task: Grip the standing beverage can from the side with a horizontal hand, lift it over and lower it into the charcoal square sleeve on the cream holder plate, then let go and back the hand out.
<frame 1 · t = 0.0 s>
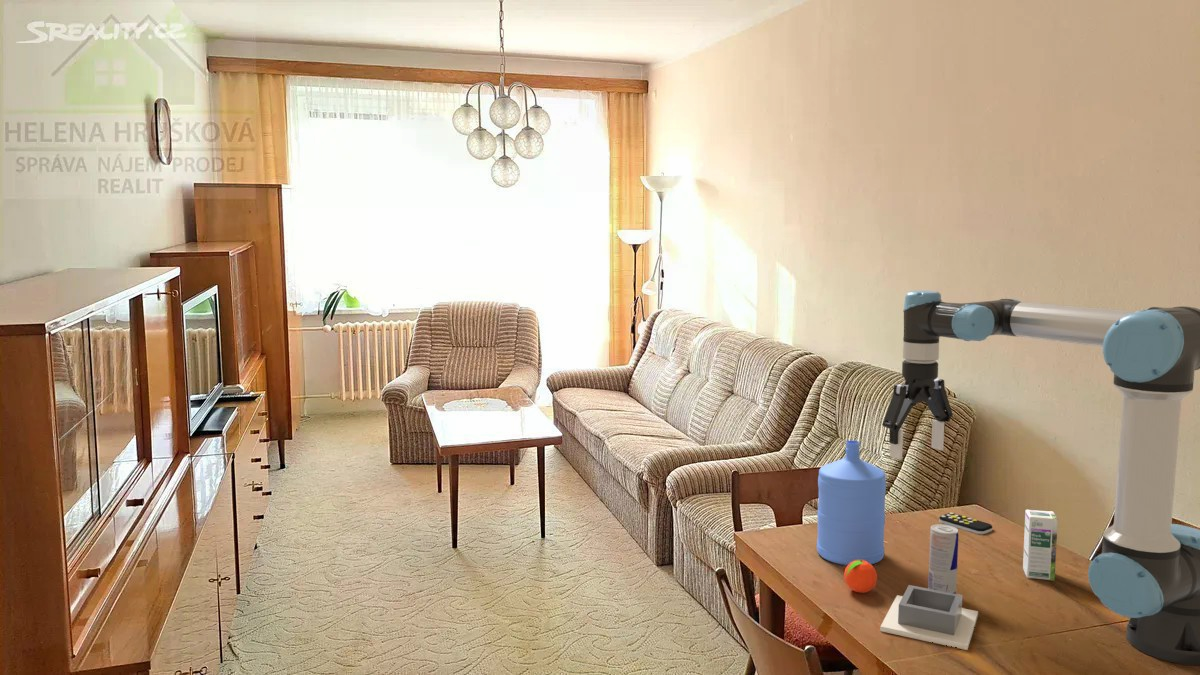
hand: (917, 453, 194), 28 cm above the table, tool pointing down, fingers open, 13 cm apart
water jug: (849, 555, 209), on the table
beverage can: (941, 595, 186), on the table
syrup box: (1038, 575, 195), on the table
can holder: (929, 623, 173), on the table
clementine: (858, 592, 188), on the table
remote control: (965, 527, 227), on the table
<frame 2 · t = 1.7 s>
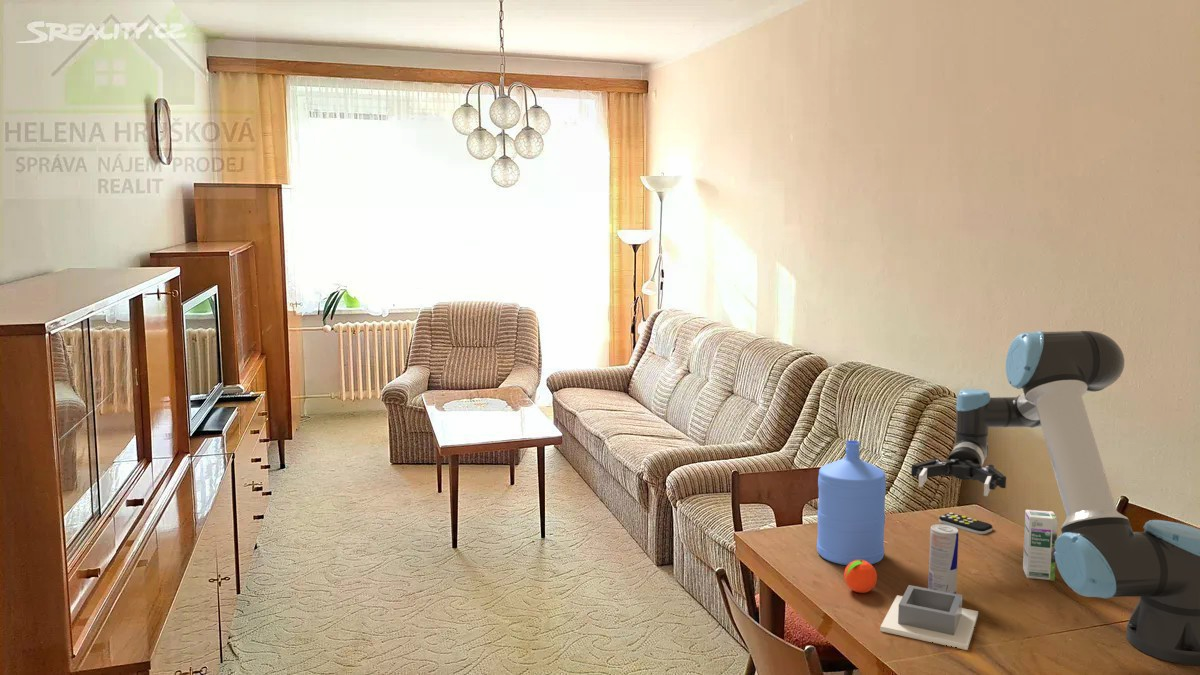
hand: (952, 485, 191), 22 cm above the table, tool horizontal, fingers open, 13 cm apart
nothing on the table moved.
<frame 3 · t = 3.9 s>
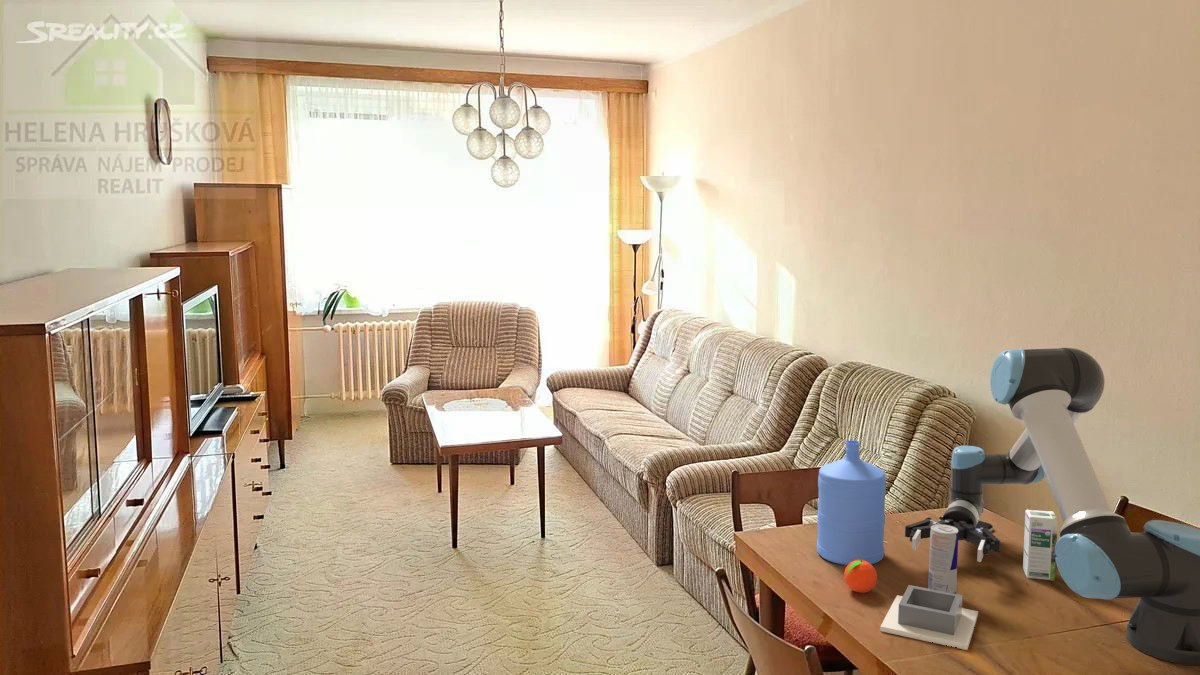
hand: (945, 550, 190), 8 cm above the table, tool horizontal, fingers open, 13 cm apart
nothing on the table moved.
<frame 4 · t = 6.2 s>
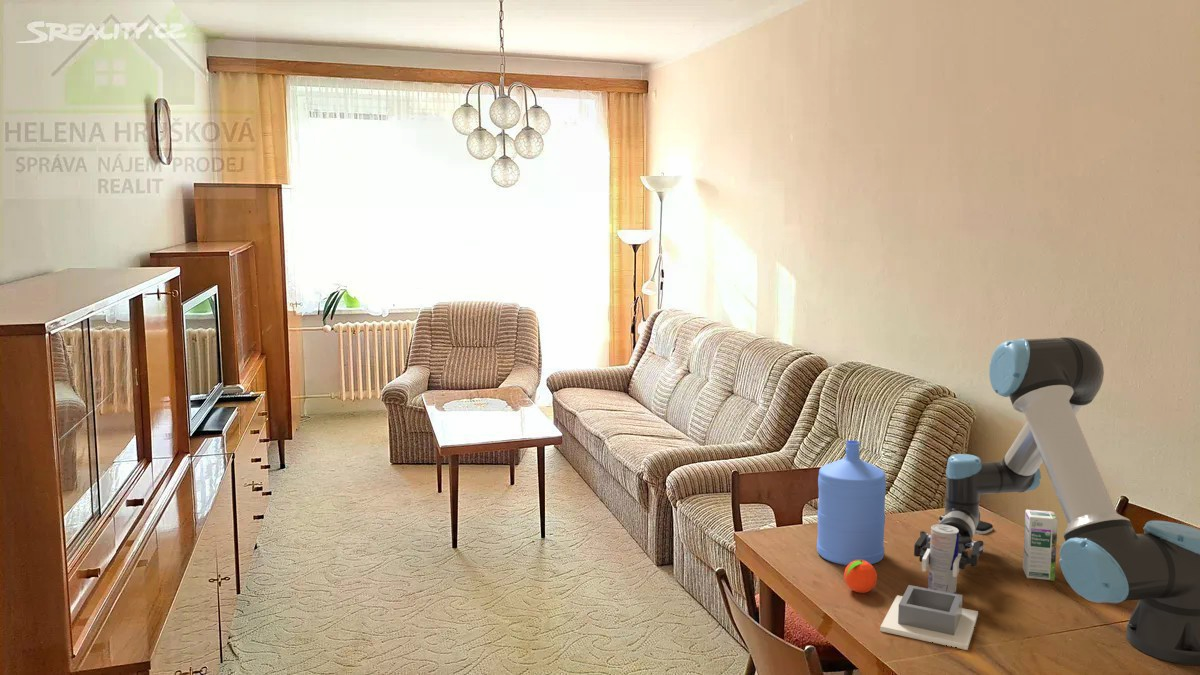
hand: (939, 567, 180), 8 cm above the table, tool horizontal, fingers closed on beverage can, 5 cm apart
beverage can: (941, 595, 186), on the table, touching gripper
everything else where it was.
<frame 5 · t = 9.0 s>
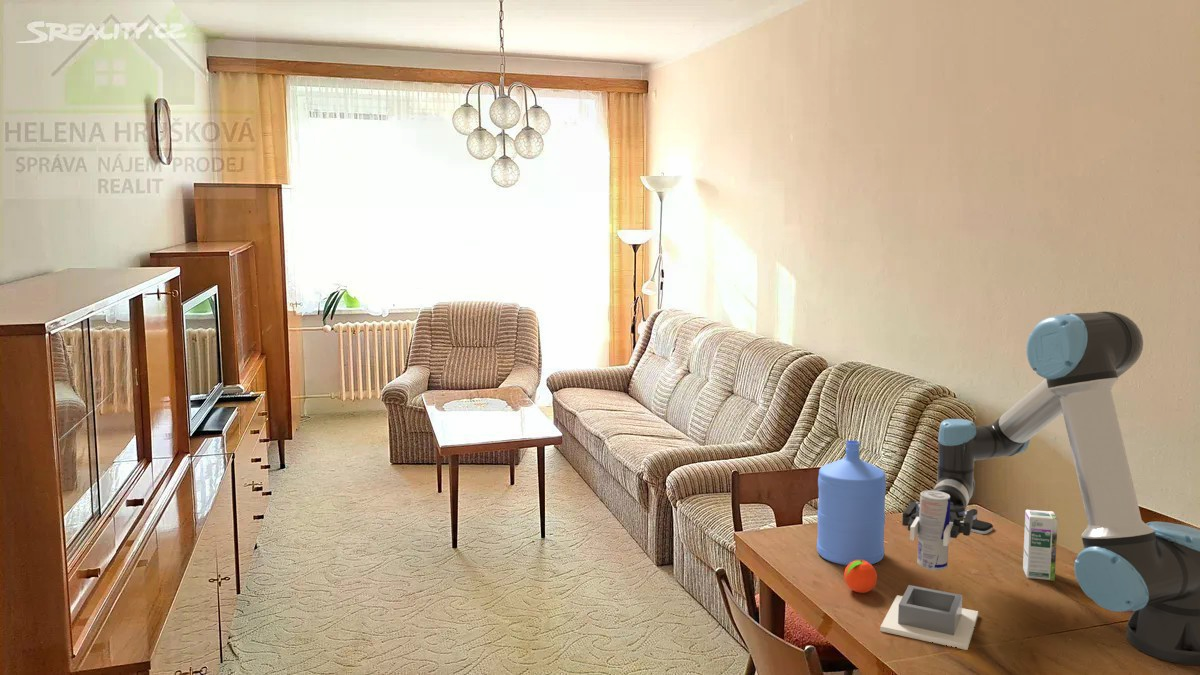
hand: (928, 536, 166), 20 cm above the table, tool horizontal, fingers closed on beverage can, 5 cm apart
beverage can: (932, 567, 172), point 12 cm above the table, touching gripper
everything else where it was.
when the fingers open (10 cm above the table, at t = 12.1 s): beverage can stays where it is, resting on can holder.
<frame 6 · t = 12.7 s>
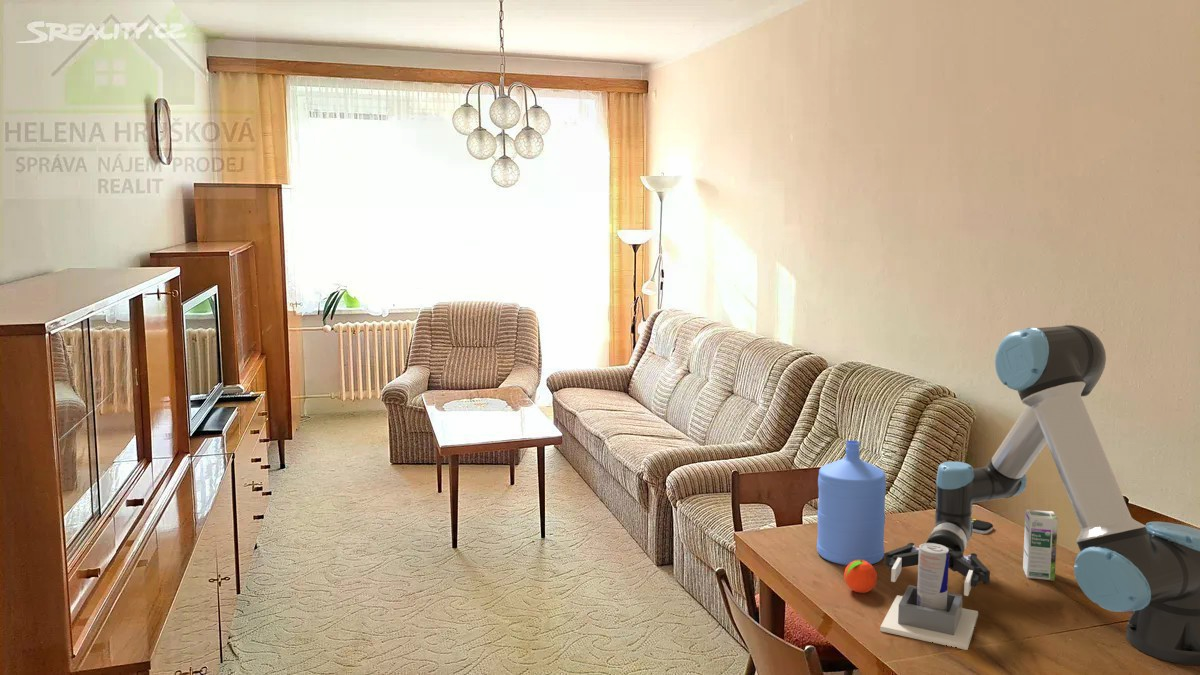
hand: (929, 582, 169), 10 cm above the table, tool horizontal, fingers open, 13 cm apart
beverage can: (931, 619, 173), point 1 cm above the table, touching can holder
everything else where it was.
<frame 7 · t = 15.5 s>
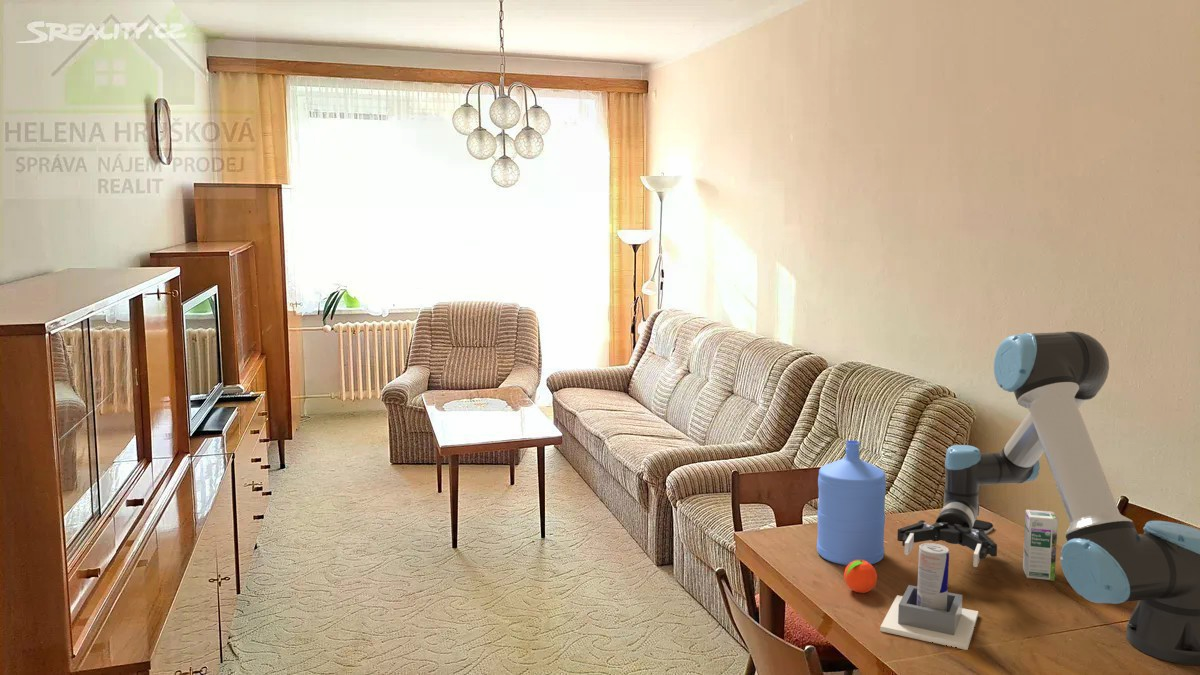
hand: (940, 554, 180), 11 cm above the table, tool horizontal, fingers open, 13 cm apart
nothing on the table moved.
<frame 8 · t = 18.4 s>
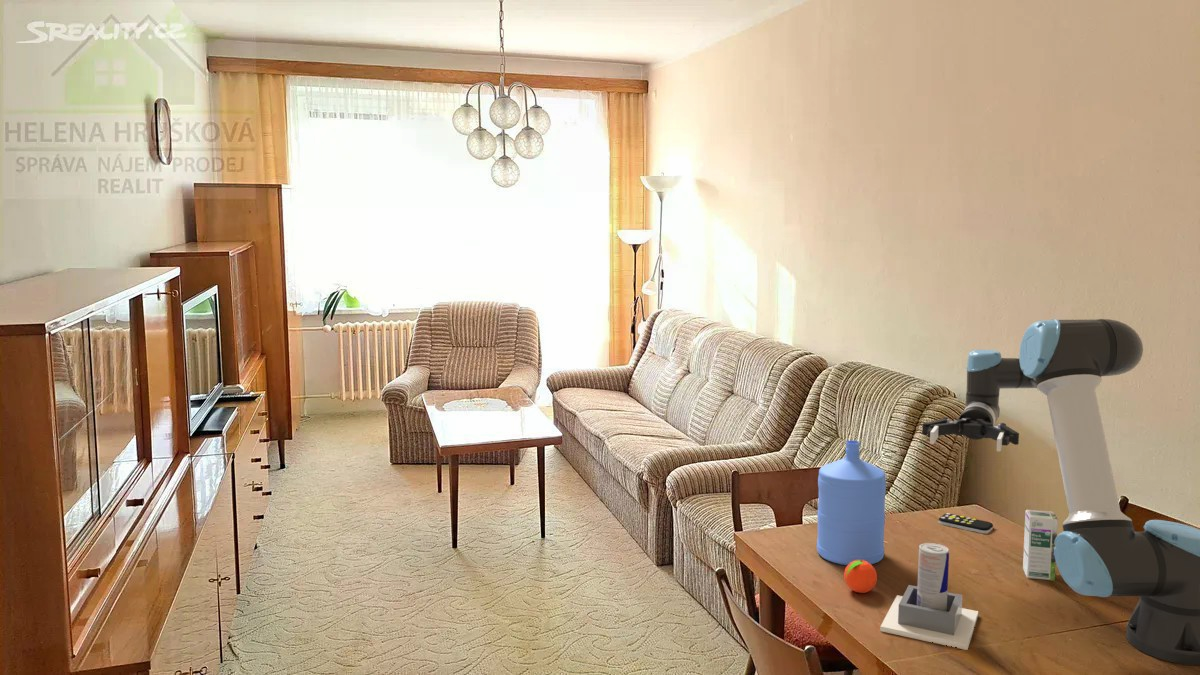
hand: (964, 441, 188), 32 cm above the table, tool horizontal, fingers open, 13 cm apart
nothing on the table moved.
at the end: beverage can 0.2 cm off-centre on the can holder, point 0.8 cm above the can holder's base; beverage can tilted 0°; the gripper is holding nothing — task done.
